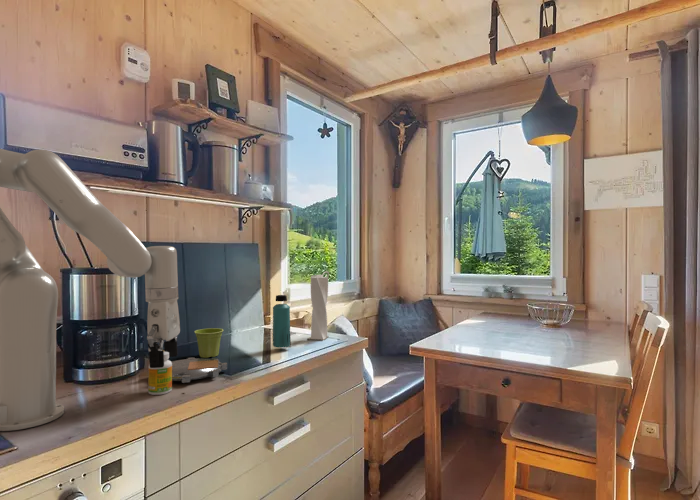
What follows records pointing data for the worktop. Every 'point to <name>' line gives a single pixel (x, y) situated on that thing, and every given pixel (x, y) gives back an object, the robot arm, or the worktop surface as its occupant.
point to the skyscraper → (319, 307)
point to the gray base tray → (196, 369)
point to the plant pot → (208, 341)
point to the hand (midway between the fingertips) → (164, 361)
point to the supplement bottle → (160, 378)
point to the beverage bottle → (281, 323)
